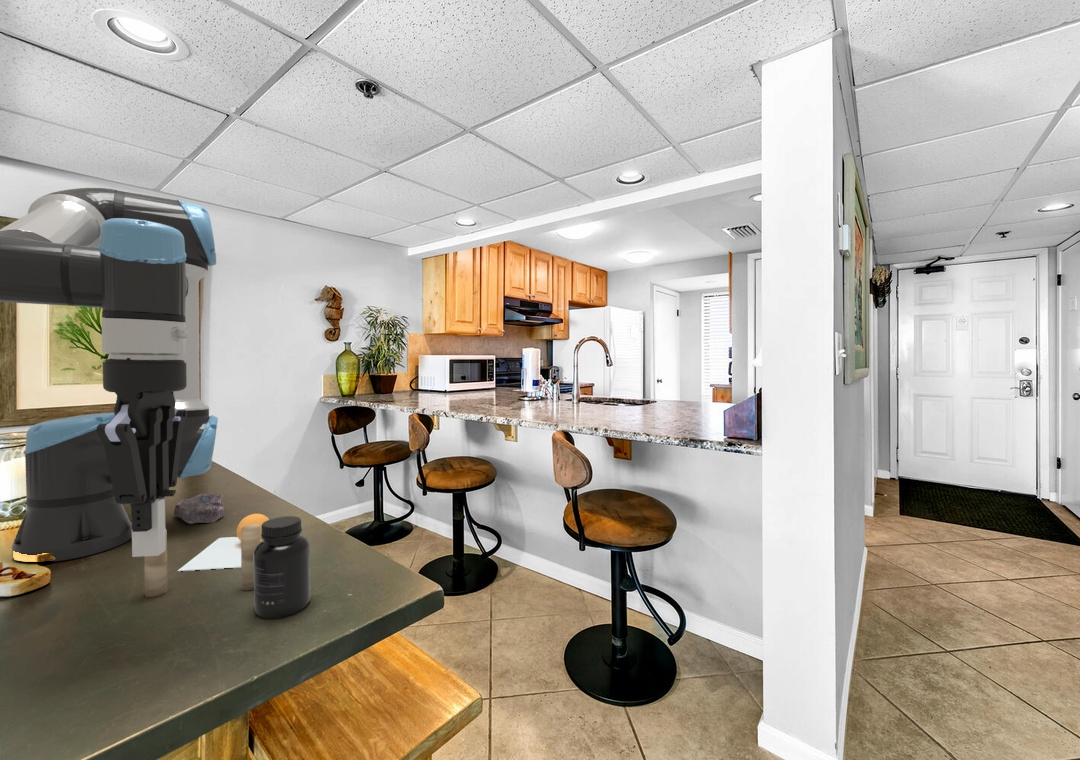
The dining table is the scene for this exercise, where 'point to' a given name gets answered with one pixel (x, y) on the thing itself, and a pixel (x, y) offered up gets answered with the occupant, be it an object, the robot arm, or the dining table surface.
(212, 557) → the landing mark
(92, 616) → the dining table surface
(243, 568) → the post
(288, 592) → the supplement bottle
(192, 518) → the rock
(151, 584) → the post
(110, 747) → the dining table surface
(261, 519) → the ball
